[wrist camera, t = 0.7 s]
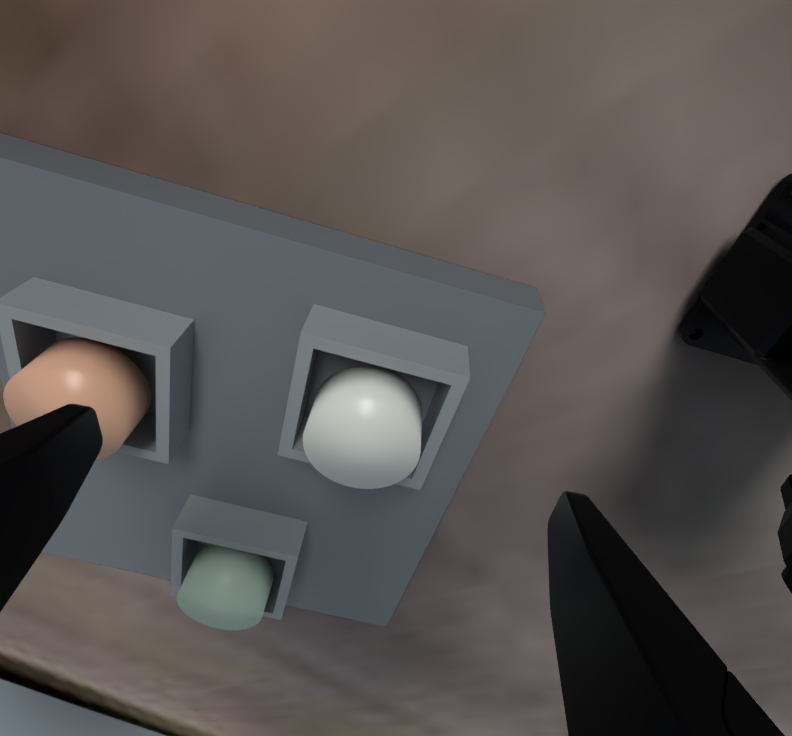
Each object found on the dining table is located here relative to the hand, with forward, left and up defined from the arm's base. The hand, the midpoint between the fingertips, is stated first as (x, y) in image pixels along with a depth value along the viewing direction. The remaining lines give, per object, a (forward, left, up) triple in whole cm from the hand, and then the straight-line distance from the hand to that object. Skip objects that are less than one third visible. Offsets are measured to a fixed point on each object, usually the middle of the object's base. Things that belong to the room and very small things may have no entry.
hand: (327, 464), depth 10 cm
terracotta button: (+9, +7, -8) cm, 14 cm away
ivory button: (-1, +5, -8) cm, 9 cm away
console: (+4, +11, -11) cm, 16 cm away
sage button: (+3, +17, -8) cm, 19 cm away
